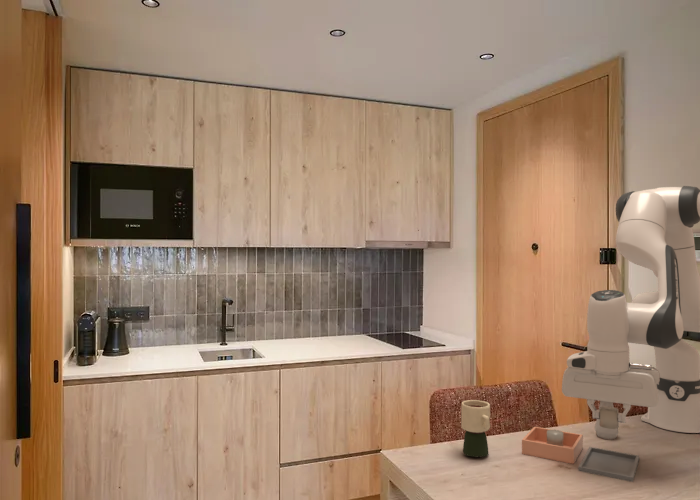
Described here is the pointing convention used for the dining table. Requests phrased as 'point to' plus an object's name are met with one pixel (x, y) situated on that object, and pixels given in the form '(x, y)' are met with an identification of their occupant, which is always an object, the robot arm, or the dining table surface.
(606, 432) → the salt shaker
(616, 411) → the pebble
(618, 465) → the tray
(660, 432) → the dining table surface
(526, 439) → the open box
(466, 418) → the character mug
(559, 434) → the pebble
